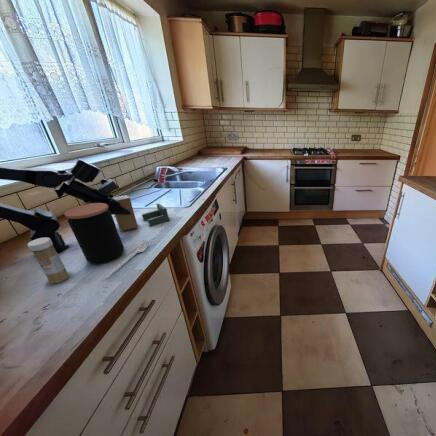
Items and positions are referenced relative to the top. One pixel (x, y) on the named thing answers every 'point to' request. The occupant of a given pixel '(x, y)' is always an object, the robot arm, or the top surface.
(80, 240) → the coffee jar
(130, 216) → the brown box
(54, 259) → the sprinkles bottle
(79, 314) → the top surface
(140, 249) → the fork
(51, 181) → the robot arm
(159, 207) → the cradle
